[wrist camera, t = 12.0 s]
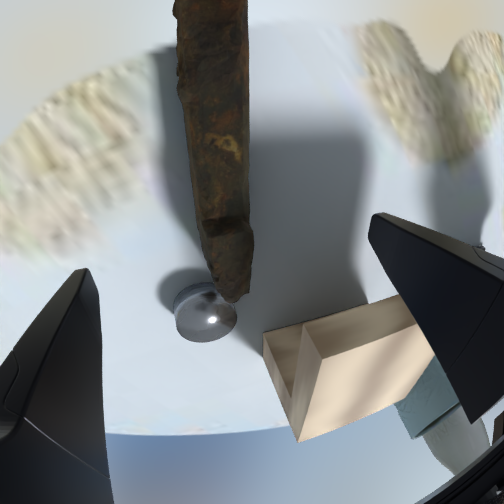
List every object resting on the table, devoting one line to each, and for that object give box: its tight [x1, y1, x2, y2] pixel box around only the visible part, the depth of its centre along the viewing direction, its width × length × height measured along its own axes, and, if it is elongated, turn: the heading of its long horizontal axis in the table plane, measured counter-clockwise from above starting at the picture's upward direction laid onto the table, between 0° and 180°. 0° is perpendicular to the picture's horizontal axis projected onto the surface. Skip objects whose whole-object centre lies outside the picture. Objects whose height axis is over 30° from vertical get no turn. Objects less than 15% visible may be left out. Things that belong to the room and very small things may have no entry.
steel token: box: [173, 283, 237, 342], centre depth 23 cm, size 4×4×2 cm
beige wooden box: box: [263, 294, 435, 443], centre depth 23 cm, size 11×13×10 cm
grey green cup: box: [394, 355, 461, 440], centre depth 37 cm, size 10×10×12 cm
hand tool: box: [172, 0, 254, 304], centre depth 15 cm, size 19×4×5 cm, turn 179°
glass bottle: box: [422, 406, 491, 476], centre depth 38 cm, size 10×10×28 cm
